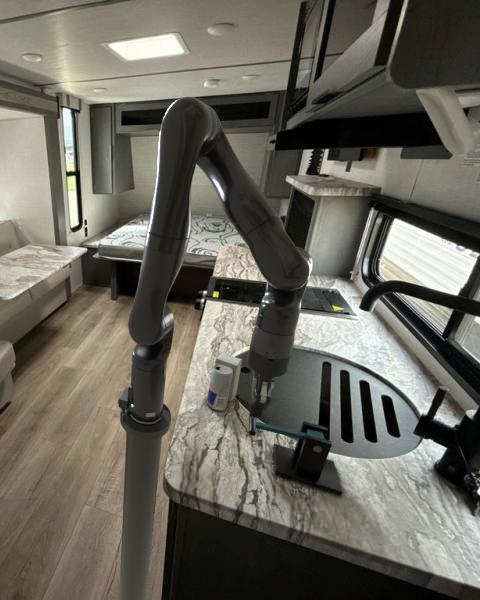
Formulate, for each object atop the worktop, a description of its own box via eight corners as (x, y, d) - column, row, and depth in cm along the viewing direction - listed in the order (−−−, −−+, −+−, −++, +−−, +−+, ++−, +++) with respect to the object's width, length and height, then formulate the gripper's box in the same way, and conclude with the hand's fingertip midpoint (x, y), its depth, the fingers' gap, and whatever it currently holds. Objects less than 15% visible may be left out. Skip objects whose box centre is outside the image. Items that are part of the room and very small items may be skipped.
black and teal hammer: (248, 436, 67) (249, 428, 66) (248, 418, 72) (249, 410, 71) (324, 456, 62) (326, 446, 61) (318, 434, 67) (321, 426, 66)
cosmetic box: (236, 394, 91) (243, 359, 86) (231, 402, 88) (238, 366, 83) (215, 385, 95) (221, 351, 90) (209, 392, 92) (215, 357, 87)
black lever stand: (275, 474, 66) (286, 436, 62) (273, 447, 73) (283, 411, 69) (340, 496, 62) (357, 456, 58) (332, 465, 69) (346, 427, 65)
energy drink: (209, 396, 90) (214, 361, 86) (228, 402, 88) (234, 366, 83) (204, 406, 86) (210, 370, 82) (224, 413, 84) (231, 377, 79)
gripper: (250, 330, 69) (238, 393, 75) (250, 359, 57) (235, 431, 64) (288, 336, 66) (271, 401, 72) (295, 368, 55) (275, 442, 61)
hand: (254, 415), depth 68 cm, fingers closed
